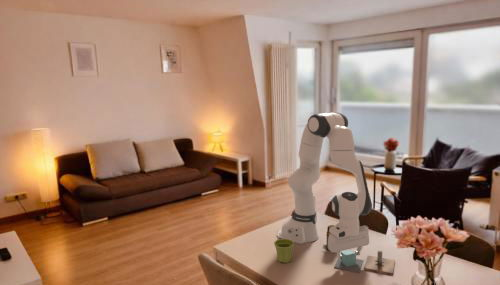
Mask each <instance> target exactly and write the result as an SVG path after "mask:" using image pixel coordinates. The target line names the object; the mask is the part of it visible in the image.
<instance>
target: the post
mask: <svg viewBox="0 0 500 285" xmlns="http://www.w3.org/2000/svg"><path fill="white" fill-rule="evenodd" d="M395 261H396V260H395V259H391V258H390V259H389V258H385V257H383V251H382V250H377V256H373V255H367V257H366V260H365V262H364V266H363V271H364V270H365V271H369V272H372V273H373V272H374V273H379V274H385V275H390V276H393V275H394V269H395Z"/></svg>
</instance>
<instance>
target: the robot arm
mask: <svg viewBox="0 0 500 285" xmlns="http://www.w3.org/2000/svg"><path fill="white" fill-rule="evenodd" d="M348 126H349V119H348V118H347V116H346V115H345V114H343V113H340V112H322V113H319V112H317V113H314V114H312V115H310V116H309V118H308V120H307V123H306V124H305V126H304V129H303V132H302V134H301V139H300V144H299V151H298V158H299V163H300V164H299V168H298V169H296V170H295V171H292V173H291V174H290V175H289V177H288V181H287V182H288V186H289V188H290V190H292V193H293V197H294V198H293V199H294V209H293V210H292V212H291V213H290V218H288V219H287V220H285V221H284V222H283V223H282V225H281V228H280V229H279V230H278V232H277V234H276V235H277V238H278V239H289V240H292V241H293V242H294V243H296V244H299V245H301V244H306V243H311V242H315V241H317V240H318V239H319V237H320V236H319V232H318V229H317V228H318V227H317V217H318V216H317V215H318V214H317V211H316V207H317V206H316V203H317V202H316V201H317V200H316V197H315V196H314V193H313V188H312V187H313V185H314V184H316V183H317V182H318V180H320V177H321V170H320V160H321V159H320V158H321V154H322V149H323V142H324V138H327V139H328V140H329V152H330V161H331V162H332V164H333V165H334V166H335V167H337V168H339V169H341V170H345V171H347V172H349V173H351V174H353V175H354V177H355V182H356V187H357V193H355V192H351V191H345V192H342V193H340V194H336V195H334V196H333V197H332V198H331V211H332V213H334V214H335V215H336V216H339V221H338V223H337V224H335V226H333V227H331V228H330V229H329V232H330V233H331V234H330V235H329V237H328V249H329V250H330V251H331V252H330V253H332V252H336V253H335V254H336V255H337V260H338V259H339V260H340V259H342V255H341V252H342V251H346V250H351V249H355V248H356V250H354V253H355V254H356V256H360V254H361V251H362V249H363V247H365V246H368V245H369V244H370V233H369V226H368V225H365V224H364V225H360V219H359V217H360V216H367V215H368V214H369V213H370V212H371V211H372V210H373V202H372V199H371V196H370V191H369V188H368V183H367V177H366V173H365V168H364V165H363V162H362V161H361V160H359V159H358V158H357V155H356V153H355V152H356V151H355V142H354V141H355V140H354V137H353V136H354V135H353V132H352V130H351V128H349V127H348Z"/></svg>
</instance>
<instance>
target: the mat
mask: <svg viewBox="0 0 500 285" xmlns="http://www.w3.org/2000/svg"><path fill="white" fill-rule="evenodd" d="M363 262H364V259H361V258H360V259H358V258H356V265H352V266H346V265H344V264H343V263H342V262H341V259H340V260H339V259H338V258H337V260H336V262H335V264H334V266H333V268H334V269H338V270H343V271H347V272H352V273H358V274H360V272H361V269H362V265H363Z"/></svg>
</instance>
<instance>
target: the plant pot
mask: <svg viewBox="0 0 500 285" xmlns="http://www.w3.org/2000/svg"><path fill="white" fill-rule="evenodd" d="M294 244H295V242H293V241H292V240H289V239H281V238H278V239H277V240H275V241H274V242H273V245H274V247H275V250H276V256H277V260H278V262H279V263H283V264H284V263H290V262H291V260H292V252H293V248H294Z"/></svg>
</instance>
